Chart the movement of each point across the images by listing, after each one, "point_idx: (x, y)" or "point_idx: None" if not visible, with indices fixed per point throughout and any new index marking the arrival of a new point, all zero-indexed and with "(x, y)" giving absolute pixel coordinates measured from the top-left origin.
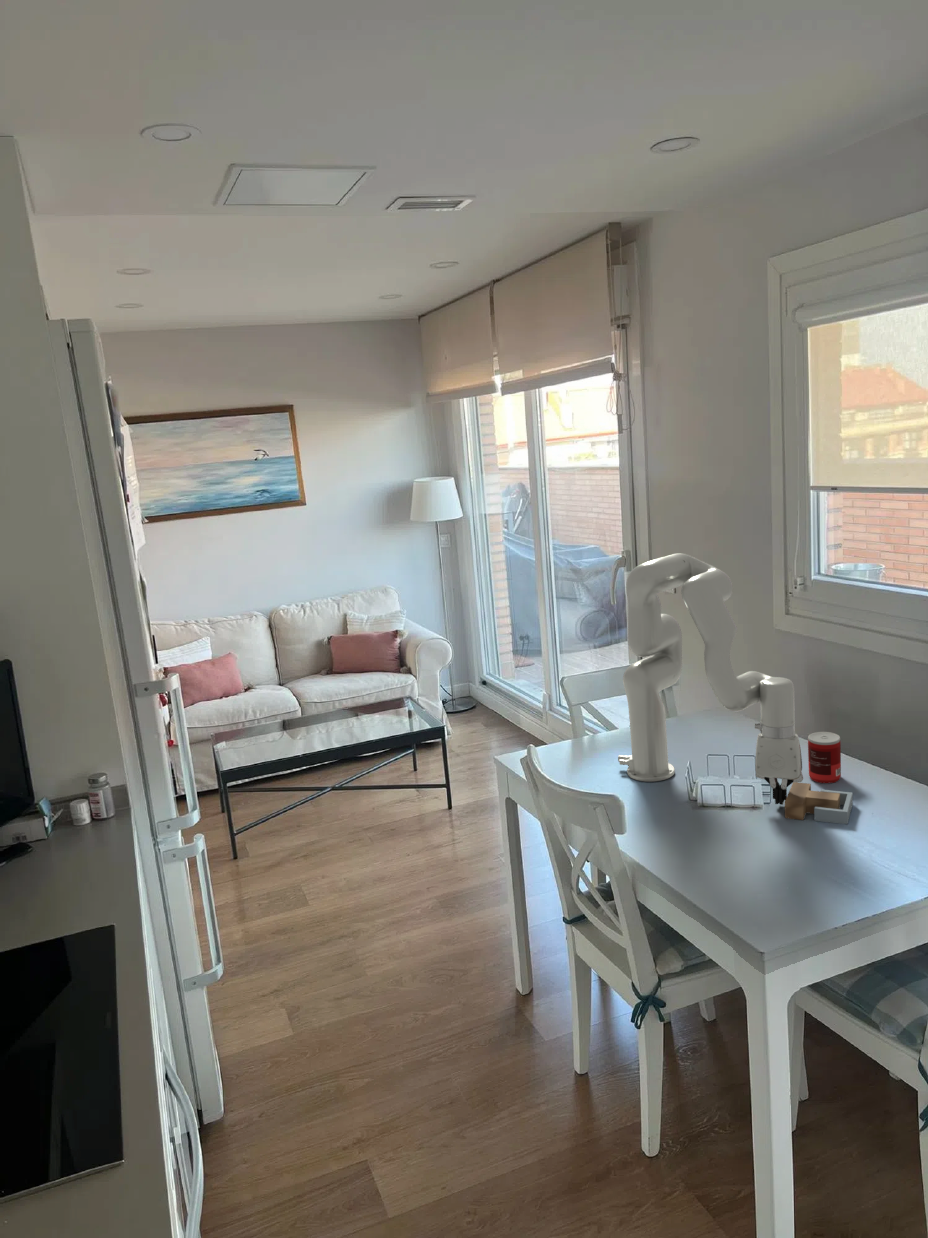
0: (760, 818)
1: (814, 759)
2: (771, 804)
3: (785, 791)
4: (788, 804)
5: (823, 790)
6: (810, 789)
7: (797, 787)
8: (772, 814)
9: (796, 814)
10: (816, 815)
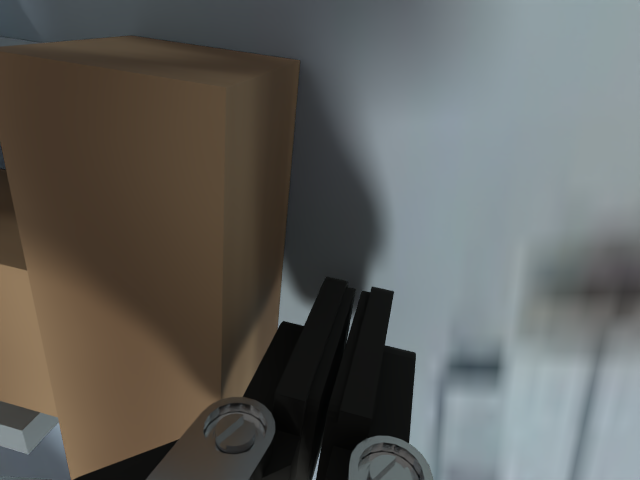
0: (585, 6)
1: None
2: (431, 346)
3: (247, 390)
4: (184, 72)
5: (6, 440)
6: None
7: None
8: (430, 140)
9: (161, 49)
10: None
